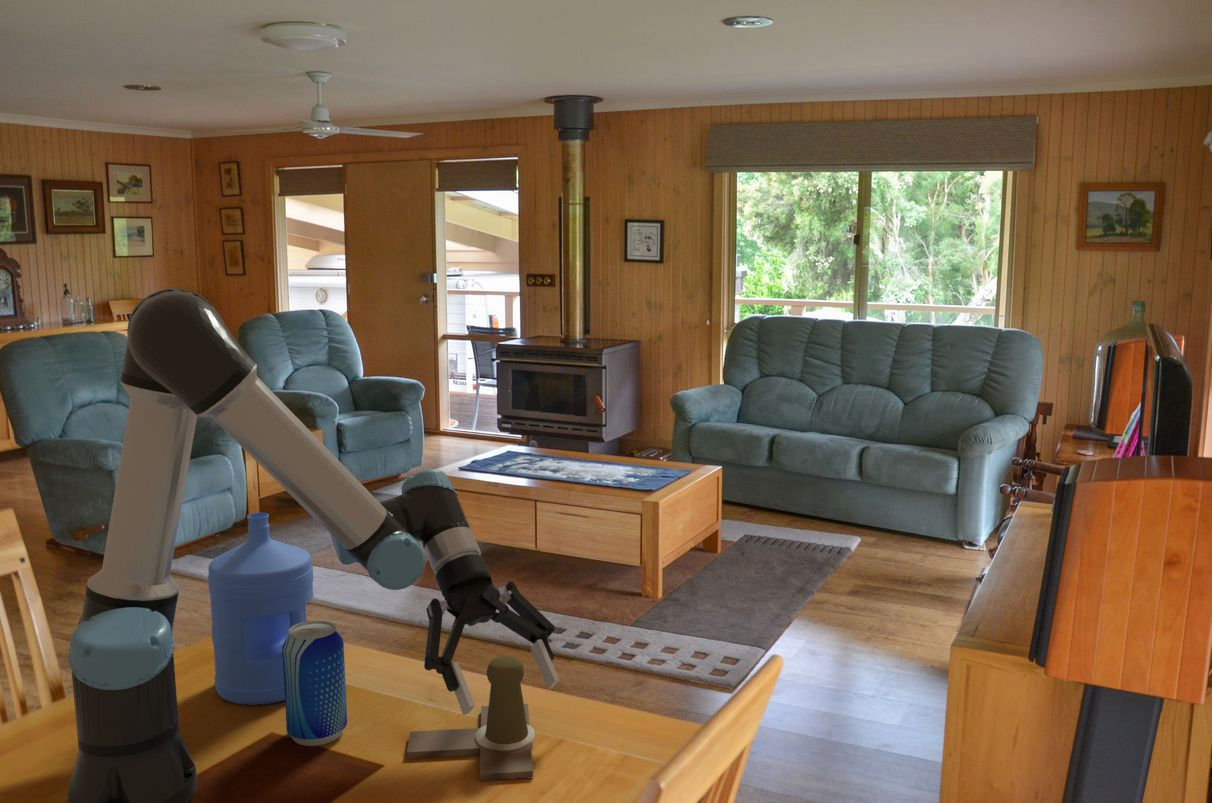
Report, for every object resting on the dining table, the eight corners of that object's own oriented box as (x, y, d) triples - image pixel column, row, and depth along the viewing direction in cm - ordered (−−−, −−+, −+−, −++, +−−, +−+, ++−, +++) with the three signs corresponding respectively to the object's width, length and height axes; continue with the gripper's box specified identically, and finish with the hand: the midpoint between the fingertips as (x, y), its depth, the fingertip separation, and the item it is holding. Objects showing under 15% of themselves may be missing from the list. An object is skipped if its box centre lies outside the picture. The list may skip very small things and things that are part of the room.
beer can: (318, 715, 156) (313, 613, 153) (359, 729, 152) (355, 624, 149) (274, 739, 149) (268, 632, 146) (316, 754, 144) (311, 644, 142)
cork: (522, 745, 144) (520, 670, 142) (480, 742, 145) (478, 667, 143) (532, 725, 150) (531, 652, 148) (491, 722, 151) (490, 650, 149)
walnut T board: (402, 785, 136) (402, 776, 136) (413, 715, 156) (413, 707, 156) (538, 777, 138) (538, 768, 138) (532, 709, 158) (532, 701, 157)
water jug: (193, 697, 162) (181, 523, 158) (262, 659, 176) (253, 498, 172) (273, 714, 156) (263, 534, 152) (338, 674, 170) (330, 508, 166)
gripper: (521, 562, 164) (576, 685, 154) (372, 594, 149) (422, 733, 140) (539, 537, 159) (596, 663, 149) (386, 568, 144) (439, 710, 135)
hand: (512, 697), depth 144 cm, fingers open, 13 cm apart
